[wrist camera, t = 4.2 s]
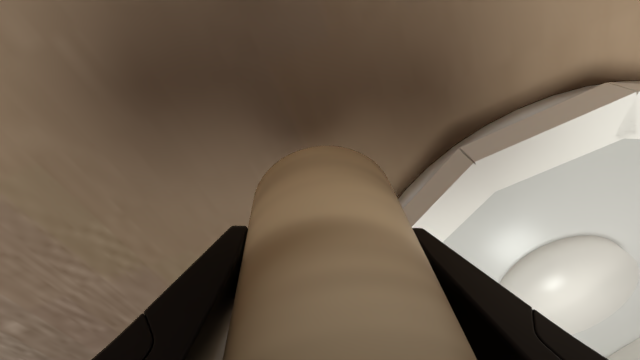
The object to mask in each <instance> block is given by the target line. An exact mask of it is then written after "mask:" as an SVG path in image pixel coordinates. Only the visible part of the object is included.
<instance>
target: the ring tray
mask: <svg viewBox="0 0 640 360" xmlns="http://www.w3.org/2000/svg"><path fill="white" fill-rule="evenodd" d="M398 200H399V202H400V204H401V206H402V208H403V210H404V212H405V214H406V216H407V219H408V221H409V223H410V225H411V227H412V228H423V229H424V230H426V231H427V232H429V233H430V234H431V235H433V236H434V237H436V238H437V239H438V240H440V241H441V242H442V243H444V244H445V245H447V246H448V247H449V248H451V249H452V250H454V251H455V252H456V253H458V254H459V255H460V256H462V257H463V258H465V259H466V260H467V261H469V262H470V263H471V264H473V265H474V266H476V267H477V268H478V269H480V270H481V271H483V272H484V273H485V274H487V275H488V276H489V277H491V278H492V279H494V280H495V281H496V282H498V283H499V284H500V285H502V286H503V287H505V288H506V289H507V290H509V291H510V292H512V293H513V294H514V295H516V296H517V297H518V298H520V299H521V300H523V301H524V302H525V303H527V304H528V305H529V306H531V307H532V310H533V309H535V310H537V311H538V312H539V313H541V314H542V315H543V316H545V317H546V318H548V319H549V320H550V321H552V322H553V323H555V324H556V325H558V326H559V327H560V328H562V329H563V330H565V331H566V332H568V333H569V334H570V335H572V336H573V337H575V338H576V339H578V340H579V341H581V342H582V343H584V344H585V345H587V346H588V347H590V348H591V349H593V350H595V351H596V352H598V353H599V354H601V355H602V356H604V357H605V358H607V359H608V360H640V81H620V82H608V83H604V84H600V85H593V86H587V87H583V88H579V89H576V90H572V91H568V92H565V93H561V94H557V95H554V96H551V97H548V98H545V99H543V100H540V101H538V102H535V103H533V104H530V105H527V106H525V107H522V108H520V109H517V110H515V111H513V112H511V113H509V114H508V115H506V116H504V117H502V118H500V119H498V120H496V121H494V122H492V123H490V124H488V125H486V126H484V127H483V128H481V129H480V130H478V131H477V132H475V133H473V134H472V135H470V136H469V137H467V138H466V139H464V140H463V141H461V142H460V143H458V144H456V145H455V146H454V147H452V148H451V149H450V150H449V151H447V152H446V153H445V154H444V155H442V156H441V157H440V158H439V159H437V160H436V161H435V162H434V163H433V164H431V165H430V166H429V167H428V168H427V169H426V170H425V171H424V172H423V173H422V174H421V175H420V176H419V177H418V178H417V179H416V180H415V181H414V182H413V183H412V184H411V185H410V186H409V187H408V188H407V189H406V190H405V191H404V192H403V194H402V195H401V196H400V197H399V199H398Z"/></svg>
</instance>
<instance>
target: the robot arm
mask: <svg viewBox="0 0 640 360" xmlns="http://www.w3.org/2000/svg"><path fill="white" fill-rule="evenodd" d="M412 229H413V231H414V233H415V235H416V237H417V239H418V241H419V243H420V245H421V247H422V249H423V251H424V253H425V255H426V257H427V259H428V261H429V263H430V265H431V267H432V269H433V271H434V273H435V275H436V277H437V279H438V281H439V283H440V285H441V287H442V289H443V292H444V294H445V296H446V298H447V300H448V302H449V304H450V306H451V308H452V310H453V312H454V314H455V316H456V318H457V320H458V322H459V324H460V326H461V328H462V330H463V332H464V334H465V336H466V338H467V340H468V342H469V344H470V346H471V348H472V350H473V352H474V354H475V356H476V358H477V360H608V359H607V358H605V357H604V356H602V355H601V354H599V353H598V352H596V351H595V350H593V349H591V348H590V347H588V346H587V345H585V344H584V343H582V342H581V341H579V340H578V339H576V338H575V337H573V336H572V335H570V334H569V333H568V332H566V331H565V330H563V329H562V328H560V327H559V326H558V325H556V324H555V323H553V322H552V321H550V320H549V319H548V318H546V317H545V316H543V315H542V314H541V313H539V312H538V311H537V310H535V309H533V310H532V307H531V306H529V305H528V304H527V303H525V302H524V301H523V300H521V299H520V298H518V297H517V296H516V295H514V294H513V293H512V292H510V291H509V290H507V289H506V288H505V287H503V286H502V285H500V284H499V283H498V282H496V281H495V280H494V279H492V278H491V277H489V276H488V275H487V274H485V273H484V272H483V271H481V270H480V269H478V268H477V267H476V266H474V265H473V264H471V263H470V262H469V261H467V260H466V259H465V258H463V257H462V256H460V255H459V254H458V253H456V252H455V251H454V250H452V249H451V248H449V247H448V246H447V245H445V244H444V243H442V242H441V241H440V240H438V239H437V238H436V237H434V236H433V235H431V234H430V233H429V232H427V231H426V230H424V229H423V228H412ZM247 232H248V228H247V227H246V226H232V227H230V228H229V229H228V230H227V231H226V232H225V233H224V234H223V235H222V236H221V237H220V238H219V239H218V240H217V241H216V242H215V243H214V244H213V245H212V246H211V247H210V248H209V249H208V250H207V251H206V252H205V253H203V254H202V255H201V256H200V257H199V258H198V259H197V260H196V261H195V262H194V263H193V264H192V265H191V266H190V267H189V268H188V269H187V270H186V271H185V272H184V273H183V274H182V275H181V276H180V277H179V278H178V279H177V280H176V281H175V282H174V283H173V284H172V285H171V286H170V287H169V288H168V289H167V290H166V291H164V292H163V293H162V294H161V295H160V296H159V297H158V298H157V299H156V300H155V301H154V302H153V303H152V304H151V305H150V306H149V307H148V308H147V309H146V310H145V311H144V314H141V315H140V316H139V317H138V318H137V319H136V320H135V321H134V322H132V323H131V324H130V325H129V326H128V327H127V328H126V329H125V330H124V331H123V332H122V333H121V334H120V335H119V336H118V337H117V338H115V339H114V340H113V341H112V342H111V343H110V344H109V345H108V346H107V347H106V348H104V349H103V350H102V351H101V352H100V353H99V354H97V355H96V356H95V357H94V358H93V359H92V360H223V355H224V350H225V345H226V340H227V335H228V329H229V324H230V319H231V314H232V309H233V304H234V299H235V293H236V288H237V283H238V278H239V273H240V268H241V263H242V257H243V252H244V247H245V242H246V237H247Z"/></svg>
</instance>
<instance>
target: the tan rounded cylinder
mask: <svg viewBox="0 0 640 360" xmlns="http://www.w3.org/2000/svg"><path fill="white" fill-rule="evenodd" d="M223 360H477V358H476V356H475V354H474V352H473V350H472V348H471V346H470V344H469V342H468V340H467V338H466V336H465V334H464V332H463V330H462V328H461V326H460V324H459V322H458V320H457V318H456V316H455V314H454V312H453V310H452V308H451V306H450V304H449V302H448V300H447V298H446V296H445V294H444V292H443V289H442V287H441V285H440V283H439V281H438V279H437V277H436V275H435V273H434V271H433V269H432V267H431V265H430V263H429V261H428V259H427V257H426V255H425V253H424V251H423V249H422V247H421V245H420V243H419V241H418V239H417V237H416V235H415V233H414V231H413V229H412V227H411V225H410V223H409V221H408V219H407V216H406V214H405V212H404V210H403V208H402V206H401V204H400V202H399V200H398V198H397V196H396V194H395V192H394V190H393V188H392V186H391V184H390V182H389V180H388V178H387V176H386V175H385V173H384V172H383V171H382V169H381V168H380V167H379V166H378V165H377V164H376V163H375V162H374V161H372V160H371V159H369V158H368V157H367V156H365V155H363V154H361V153H359V152H356V151H354V150H351V149H347V148H343V147H337V146H317V147H310V148H306V149H302V150H299V151H297V152H294V153H292V154H289V155H288V156H286V157H284V158H282V159H281V160H280V161H278V162H277V163H276V164H274V165H273V166H272V167H271V168H270V169H269V170H268V171H267V172H266V174H265V175H264V176H263V178H262V179H261V181H260V183H259V184H258V187H257V189H256V192H255V196H254V201H253V206H252V211H251V216H250V221H249V226H248V232H247V237H246V242H245V247H244V252H243V257H242V263H241V268H240V273H239V278H238V283H237V288H236V293H235V299H234V304H233V309H232V314H231V319H230V324H229V329H228V335H227V340H226V345H225V350H224V355H223Z"/></svg>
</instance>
